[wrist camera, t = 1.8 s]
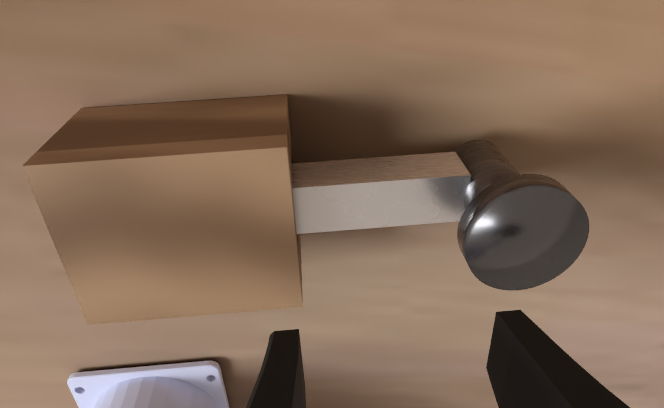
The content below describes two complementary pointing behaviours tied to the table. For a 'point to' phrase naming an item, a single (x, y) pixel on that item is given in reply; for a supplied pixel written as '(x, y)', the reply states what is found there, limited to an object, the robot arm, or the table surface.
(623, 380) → the table surface
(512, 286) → the handle rod
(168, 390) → the robot arm
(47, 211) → the wooden mallet head
